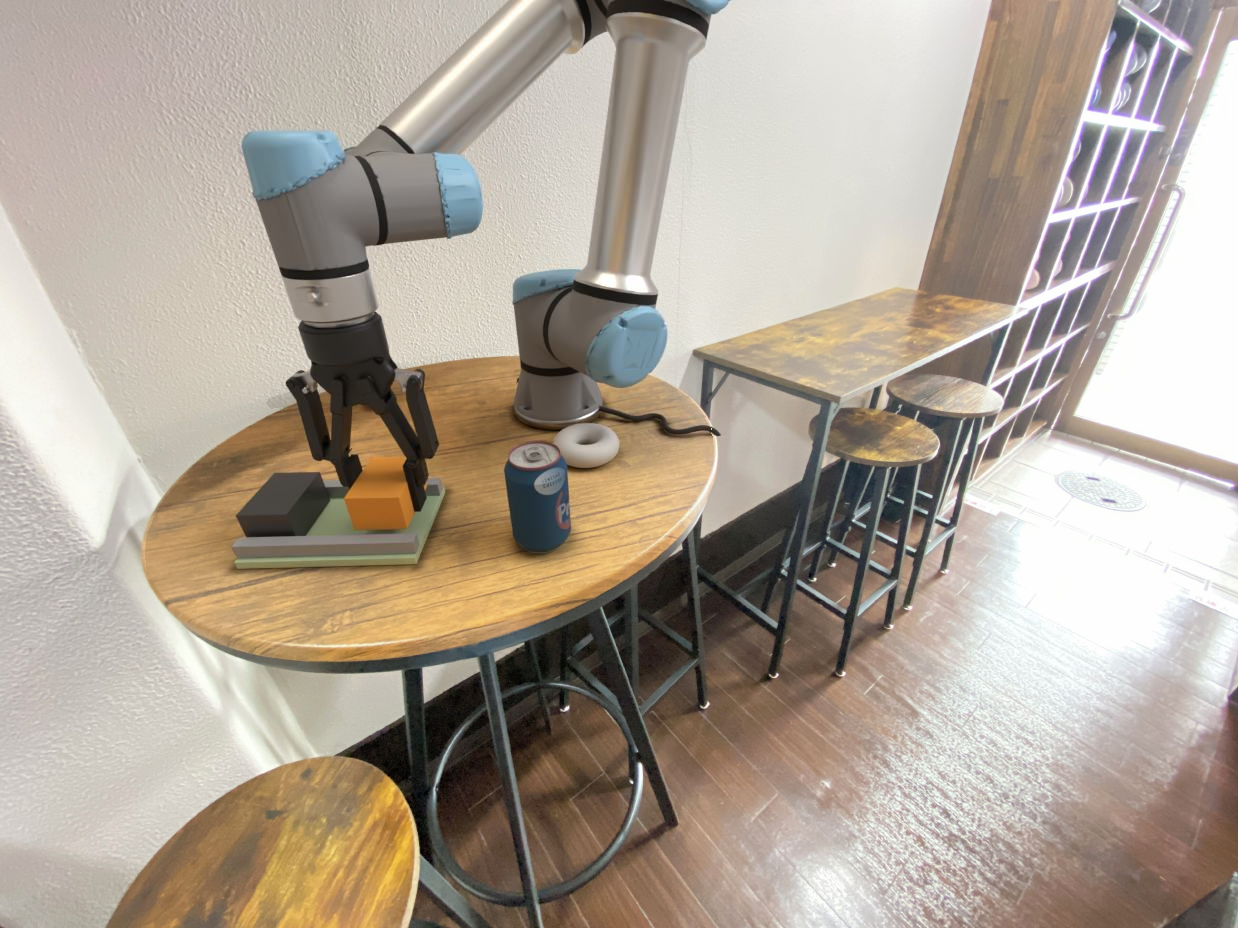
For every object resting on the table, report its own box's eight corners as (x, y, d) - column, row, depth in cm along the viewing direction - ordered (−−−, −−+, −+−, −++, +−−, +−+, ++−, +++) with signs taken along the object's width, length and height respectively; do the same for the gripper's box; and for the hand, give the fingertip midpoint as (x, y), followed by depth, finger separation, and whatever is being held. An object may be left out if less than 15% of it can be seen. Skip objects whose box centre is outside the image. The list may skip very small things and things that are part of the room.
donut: (540, 460, 79) (595, 479, 75) (537, 440, 77) (594, 458, 73) (579, 432, 86) (632, 448, 82) (577, 413, 84) (631, 428, 80)
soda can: (577, 551, 62) (572, 465, 56) (517, 562, 61) (505, 475, 54) (565, 515, 68) (559, 433, 61) (510, 525, 66) (498, 442, 60)
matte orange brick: (427, 486, 68) (420, 456, 66) (407, 529, 61) (398, 497, 59) (379, 486, 68) (371, 457, 66) (354, 530, 61) (343, 498, 58)
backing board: (445, 492, 72) (438, 457, 69) (416, 564, 61) (405, 526, 58) (295, 495, 72) (281, 461, 69) (237, 568, 60) (217, 531, 57)
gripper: (216, 329, 49) (298, 526, 61) (427, 327, 49) (465, 523, 62) (260, 305, 55) (326, 488, 67) (446, 304, 55) (477, 486, 68)
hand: (392, 505), depth 64 cm, fingers closed on matte orange brick, 6 cm apart
